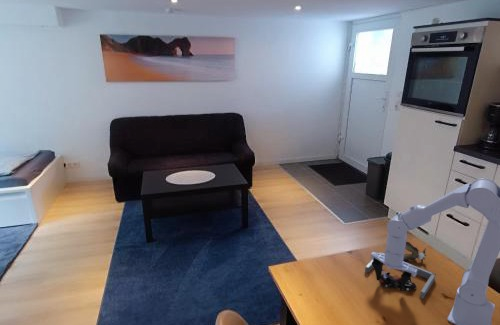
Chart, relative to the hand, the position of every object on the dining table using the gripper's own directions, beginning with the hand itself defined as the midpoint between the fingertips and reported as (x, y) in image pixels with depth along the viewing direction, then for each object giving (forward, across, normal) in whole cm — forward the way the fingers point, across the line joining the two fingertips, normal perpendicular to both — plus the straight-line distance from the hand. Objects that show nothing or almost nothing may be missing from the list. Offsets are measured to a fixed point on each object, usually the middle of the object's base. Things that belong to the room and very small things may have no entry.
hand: (389, 284), depth 105 cm
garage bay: (+2, 0, +9) cm, 9 cm away
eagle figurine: (+2, 0, +24) cm, 24 cm away
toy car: (+2, +2, +4) cm, 5 cm away
